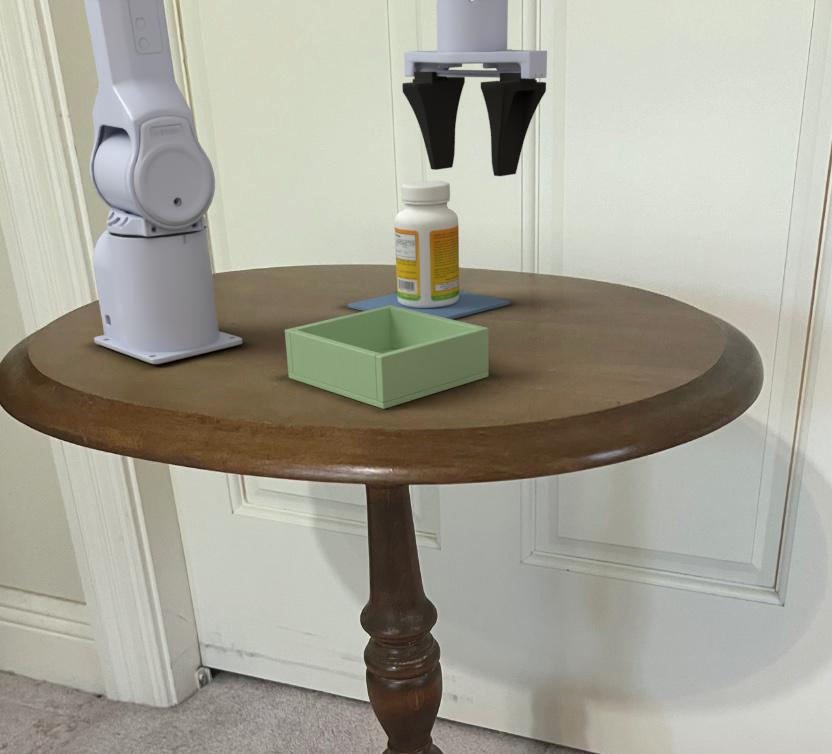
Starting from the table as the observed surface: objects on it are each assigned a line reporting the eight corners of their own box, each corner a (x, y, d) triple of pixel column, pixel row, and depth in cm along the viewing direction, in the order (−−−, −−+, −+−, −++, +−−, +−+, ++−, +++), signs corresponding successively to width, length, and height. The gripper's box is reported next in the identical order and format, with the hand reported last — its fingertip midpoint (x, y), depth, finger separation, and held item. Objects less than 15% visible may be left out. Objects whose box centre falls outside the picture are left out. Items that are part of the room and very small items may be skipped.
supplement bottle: (461, 295, 96) (460, 178, 92) (457, 309, 92) (456, 187, 87) (400, 295, 97) (397, 179, 92) (393, 309, 92) (389, 188, 87)
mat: (347, 307, 95) (347, 303, 94) (430, 288, 100) (430, 284, 100) (425, 326, 88) (425, 322, 88) (509, 304, 94) (509, 300, 94)
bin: (288, 378, 76) (284, 329, 75) (391, 350, 82) (390, 304, 80) (383, 409, 69) (381, 357, 68) (488, 376, 75) (489, 327, 74)
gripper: (575, -15, 84) (568, 172, 90) (445, -8, 93) (447, 161, 100) (512, -15, 80) (510, 182, 86) (383, -8, 89) (389, 169, 96)
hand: (472, 171), depth 93 cm, fingers open, 7 cm apart
